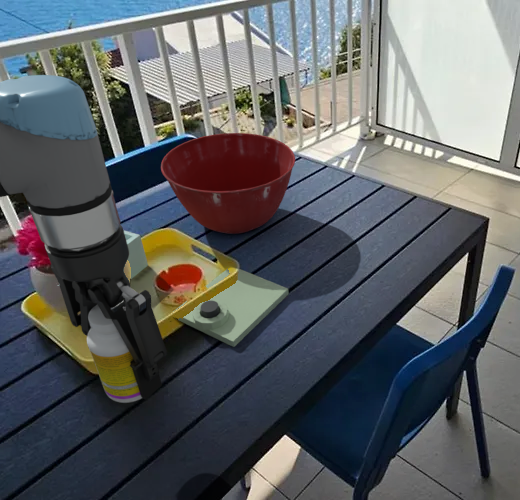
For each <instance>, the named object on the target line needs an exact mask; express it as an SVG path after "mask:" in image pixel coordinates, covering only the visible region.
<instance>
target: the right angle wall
mask: <svg viewBox="0 0 520 500" xmlns="http://www.w3.org/2000/svg"><path fill="white" fill-rule="evenodd" d="M124 234H125V238H126V242H127V245H128V249H129V257H128V261H129V263H130V267H131V280H132V279H133V278H135V277H136V276H137V275H138V274H140V273H141V272H142V271H144V270H145V269H146V268H147V267H149V263H148V259H147V256H146V255H147V254H146V252H145V248H144V244H143V241H142V237H141V235H140V234H138V233H134V232H131V231H128V230H124Z"/></svg>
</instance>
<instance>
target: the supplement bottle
mask: <svg viewBox="0 0 520 500" xmlns="http://www.w3.org/2000/svg"><path fill="white" fill-rule="evenodd" d="M123 301H124V300H123ZM123 301H122V302H123ZM122 302H121V303H122ZM119 304H120V303H119ZM119 304H118V305H119ZM115 307H116V306H115ZM113 308H114V307H113ZM113 308H111V310H112V309H113ZM88 320H89V323H90V326H91V328H90V330H89V332H88V335H87V336H86V345H87V347H88V349H89V353H90V355H91V357H92V361H93V363H94V365H95V368H96V371H97V373H98V376H99V379H100V382H101V385H102V387H103V390H104V392H105V394H106V396H107V397H108V398H109V399H111V400H112V401H114V402H117V403H123V404H127V403H134V402H136V401H139V400H141V399H143V398H142V397H141V394H140V391H139V388H138V385H137V382H136V379H135V376H134V373H133V370H132V368H131V367H130V364H131V363H130V362H131V361H132V360H133V357H132V355H131V354H130V352H129V350H128V348H127V346H126V345H125V343H124V341H123V339H122V338H121V336H120V334H119V332H118V330H117V329H116V327H115V325H114V323H113V322H112V320H111V319H107V318H105V317H104V315H103V313H102V311H101V310H100V308H99V306H98V304H97V305H96V306H94V307H93V308H92V309H91V311H90V312H89V314H88Z"/></svg>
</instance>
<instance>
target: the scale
mask: <svg viewBox="0 0 520 500" xmlns="http://www.w3.org/2000/svg"><path fill="white" fill-rule="evenodd" d="M238 269H239V274H238V280H237V281H236V283H235V284H233V285H232V286H230V287H229V288H227V289H225V290H224V291H222V292H220V293H219V294H217V295H216V296H214V297H213V298H211V299H210V300H208V301H216V302H217V303H218V306H219V314H218V315H217V316H216V317H213V318H204V317H203V316H202V313H201V305H202V304H203V303H204V302H202V303H200V304H199V305H198V306H197V307H195V308H194V310H193V311H191V312H190V313H189V314H187V315H186V316H184V317H183V319H182V318H179V319H178V320H177V321H179V322H181V323H183V324H186V325H187V326H189V327H191V328H193V329H195V330H198V331H200V332H201V333H204V334H206V335H208V336H210V337H212V338H214V339H217V340H218V341H220V342H222V343H224V344H226V345H228V346H231V347H232V348H235V347H236V346H237V345H238V344H239V343H241V341H242V340H243V339H244V338H246V337H247V335H249V334H250V332H252V330H253V329H255V328H256V327H257V326H258V325H259V324H260V323H261V322H262V320H264V319H265V318H266V317H267V316H268V315H269V314H270V313H271V312H272V311H273V310H274V309H276V307H277V306H278V305H279V304H280V303H281V302H282V301H283V300H284V299H285V298H286V297H288V295H289V293H290V291H289V288H288V287H285V286H283V285H281V284H278V283H276V282H273V281H271V280H268V279H265V278H263V277H260V276H258V275H256V274H253V273H251V272H248V271H246V270H243V269H240V268H238ZM229 274H230V273H229V270H228V268H227V269H225V270H224V271H222V272H221V273H220V274H219V275H217V276H216V277H215V278H214V279H213V280H211V281H209V283H207V284H206V285H205V286H206V287H207V288H209V287H211V286H213V285H214V284H216V283H218V282H219V281H221V280H223V279H224V278H225V277H227V276H228V275H229ZM186 302H187V300H186V301H184V303H182V304H181V305H180V306H178V307H177V308H175V310H177V309H178V308H180V307H181V306H183V305H184V304H185V303H186ZM205 302H206V301H205ZM175 310H173V311H172V312H174V311H175Z"/></svg>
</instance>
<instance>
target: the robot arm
mask: <svg viewBox="0 0 520 500" xmlns="http://www.w3.org/2000/svg"><path fill="white" fill-rule="evenodd" d="M103 153H104V152H103V149H102V146H101V141H100V137H99V133H98V130H97V127H96V123H95V121H94V118H93V114H92V112H91V109H90V106H89V102H88V100H87V97H86V94H85V92H84V90H83V88H81V86H80V85H79V84H78V83H76V82H75V81H73V80H72V79H70V78H68V77H64V76H60V75H51V74H35V75H23V76H20V77H19V78H10V79H9V78H8V79H5V80H2V81H0V198H2V197H9V196H11V195H16V194H23V196H24V197H25V199H26V203H27V206H28V210H29V212H30V216H31V218H32V220H33V222H34V225H35V228H36V231H37V233H38V235H39V239H40V241H41V242H42V243H44V249H45V251H46V253H47V257H48V259H49V263H50V265H49V266H50V270H51V271H52V273H53V274H54V276H55V278H56V280H57V283H59V285H58V287H59V289H60V293H61V296H62V298H63V301H64V304H65V308H66V311H67V314H68V318H69V320H70V322H71V325H72V326H73V327H75V328H78V327H79V326H80V327H81V332H82V333H83V335H85V336H86V337H87V335H88V332H89V330H90V328H91V326H90V323H89V320H88V314H89V312H90V311H91V309H92V308H93V307H94V306H96V305H97V304H98V306H99V308H100V310H101V311H102V313H103V315H104V317H105V318H107V319H111V320H112V322H113V323H114V325H115V327H116V329H117V330H118V332H119V334H120V336H121V338H122V339H123V341H124V343H125V345H126V346H127V348H128V350H129V352H130V354H131V355H132V357H133V360H132V361H131V362H130V363H131V364H130V367H131V368H132V370H133V373H134V376H135V379H136V382H137V385H138V388H139V391H140V394H141V397H142V398H141V399H144V400H145V401H146V400H147V399H148V398H149V397H151V396H152V395H153V394H154V393H155V392H157V390H158V389H159V388H161V387H162V386H163V384H162V380H161V376H160V369H159V366H158V363H160V361H161V360H162V359H163V358H164V357H166V356H167V355H168V351H167V348H166V346H165V343H164V342H165V341H164V339H163V336H162V334H161V333H162V332H161V331H160V328H159V327H160V326H159V323H158V322H157V319H156V316H155V313H154V310H153V307H152V305H153V303H152V294H151V293H150V292H149V291H148V290H147V289H143V290H142V291H140V292H138V291H136V290H135V289H134V288H132V287H131V282H130V281H129V280H128V278H127V277H126V275H125V273H124V267H125V264H126V262H127V260H128V257H129V249H128V245H127V242H126V238H125V234H124V231H125V230H124V228H123V226H122V225H121V217H120V215H119V210H118V208H117V204H116V201H115V197H114V190H113V189H112V185H111V181H110V176H109V173H108V169H107V165H106V161H105V158H104V154H103ZM123 300H124V301H123ZM122 301H123V302H122ZM121 302H122V303H121ZM119 303H120V304H119ZM118 304H119V305H118ZM115 306H116V307H115ZM113 307H114V308H113ZM111 308H113V309H112V310H111Z"/></svg>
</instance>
